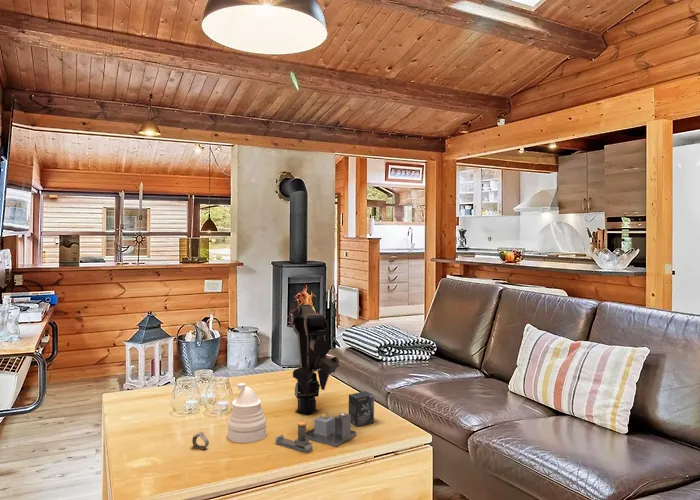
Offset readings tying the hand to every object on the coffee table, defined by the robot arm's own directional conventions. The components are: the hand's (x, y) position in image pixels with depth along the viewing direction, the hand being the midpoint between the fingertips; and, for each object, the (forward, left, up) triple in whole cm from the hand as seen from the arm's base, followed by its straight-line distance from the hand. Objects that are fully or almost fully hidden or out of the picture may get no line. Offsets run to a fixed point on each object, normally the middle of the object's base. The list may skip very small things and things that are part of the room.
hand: (315, 392), depth 185 cm
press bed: (+10, -5, -12) cm, 16 cm away
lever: (+9, -19, -10) cm, 23 cm away
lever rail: (+5, -18, -12) cm, 23 cm away
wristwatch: (-19, -36, -12) cm, 42 cm away
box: (+12, +12, -12) cm, 21 cm away
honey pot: (-14, -20, -12) cm, 27 cm away
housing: (+8, -5, -11) cm, 14 cm away
